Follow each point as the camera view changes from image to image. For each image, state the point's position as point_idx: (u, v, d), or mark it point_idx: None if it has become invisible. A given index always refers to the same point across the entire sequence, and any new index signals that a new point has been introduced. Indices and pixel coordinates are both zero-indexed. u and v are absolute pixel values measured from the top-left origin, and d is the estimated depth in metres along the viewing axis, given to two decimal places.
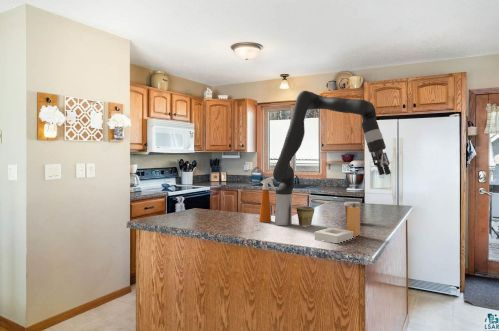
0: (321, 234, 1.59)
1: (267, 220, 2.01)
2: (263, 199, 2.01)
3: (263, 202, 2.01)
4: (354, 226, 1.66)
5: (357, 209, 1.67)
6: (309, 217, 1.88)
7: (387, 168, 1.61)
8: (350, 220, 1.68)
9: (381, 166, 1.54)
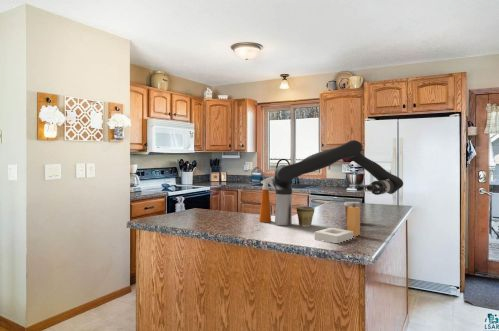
0: (321, 234, 1.59)
1: (267, 220, 2.01)
2: (263, 199, 2.01)
3: (263, 202, 2.01)
4: (354, 226, 1.66)
5: (357, 209, 1.67)
6: (309, 217, 1.88)
7: (360, 189, 1.81)
8: (350, 220, 1.68)
9: (377, 191, 1.75)
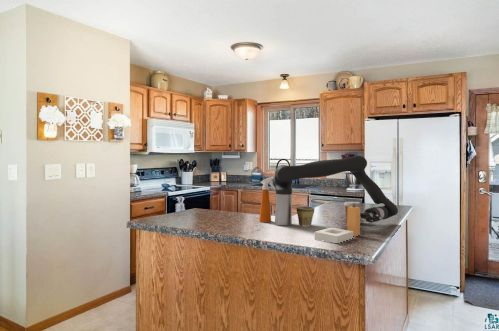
0: (321, 234, 1.59)
1: (267, 220, 2.01)
2: (263, 199, 2.01)
3: (263, 202, 2.01)
4: (354, 226, 1.66)
5: (357, 209, 1.67)
6: (309, 217, 1.88)
7: None
8: (350, 220, 1.68)
9: None
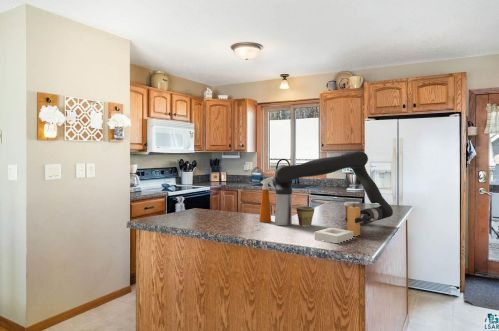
0: (321, 234, 1.59)
1: (267, 220, 2.01)
2: (263, 199, 2.01)
3: (263, 202, 2.01)
4: (354, 226, 1.66)
5: (357, 209, 1.67)
6: (309, 217, 1.88)
7: None
8: (350, 219, 1.68)
9: (359, 221, 1.68)
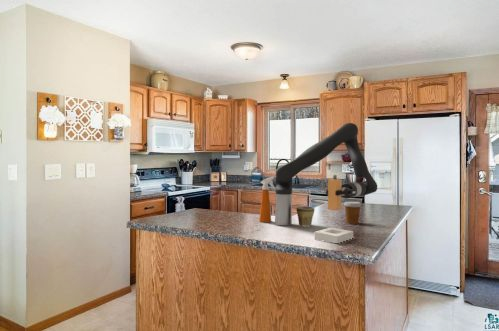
0: (321, 234, 1.59)
1: (267, 220, 2.01)
2: (263, 199, 2.01)
3: (263, 202, 2.01)
4: (335, 199, 1.59)
5: (338, 181, 1.60)
6: (309, 217, 1.88)
7: None
8: (331, 192, 1.61)
9: (340, 194, 1.60)
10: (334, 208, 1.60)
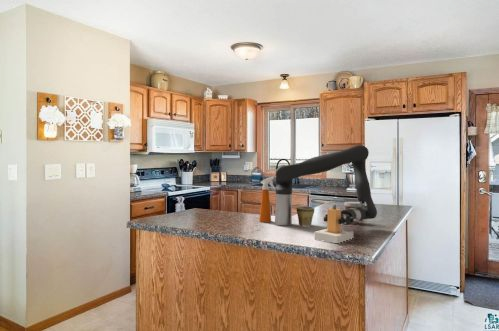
0: (321, 234, 1.59)
1: (267, 220, 2.01)
2: (263, 199, 2.01)
3: (263, 202, 2.01)
4: (334, 229, 1.60)
5: (337, 211, 1.60)
6: (309, 217, 1.88)
7: None
8: (330, 222, 1.61)
9: (343, 222, 1.60)
10: None
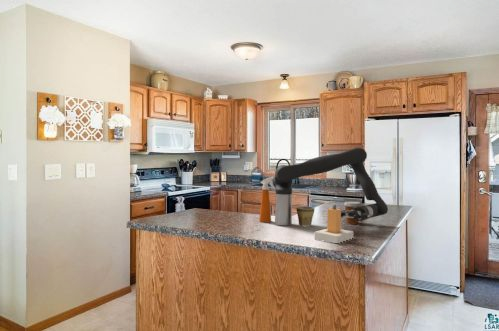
0: (321, 234, 1.59)
1: (267, 220, 2.01)
2: (263, 199, 2.01)
3: (263, 202, 2.01)
4: (334, 229, 1.60)
5: (337, 211, 1.60)
6: (309, 217, 1.88)
7: (342, 215, 1.75)
8: (330, 222, 1.61)
9: (358, 218, 1.69)
10: None
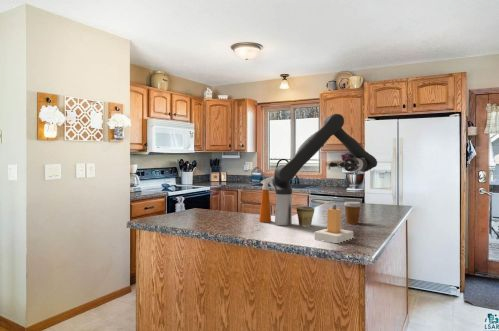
0: (321, 234, 1.59)
1: (267, 220, 2.01)
2: (263, 199, 2.01)
3: (263, 202, 2.01)
4: (334, 229, 1.60)
5: (337, 211, 1.60)
6: (309, 217, 1.88)
7: (333, 165, 1.86)
8: (330, 222, 1.61)
9: (348, 166, 1.80)
10: None
